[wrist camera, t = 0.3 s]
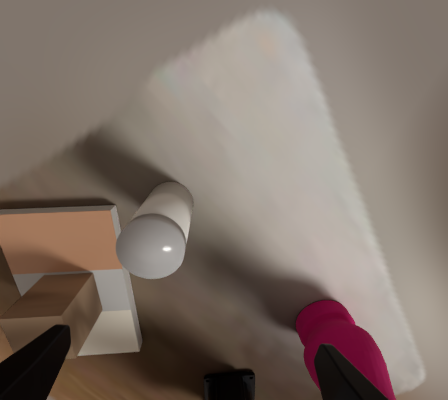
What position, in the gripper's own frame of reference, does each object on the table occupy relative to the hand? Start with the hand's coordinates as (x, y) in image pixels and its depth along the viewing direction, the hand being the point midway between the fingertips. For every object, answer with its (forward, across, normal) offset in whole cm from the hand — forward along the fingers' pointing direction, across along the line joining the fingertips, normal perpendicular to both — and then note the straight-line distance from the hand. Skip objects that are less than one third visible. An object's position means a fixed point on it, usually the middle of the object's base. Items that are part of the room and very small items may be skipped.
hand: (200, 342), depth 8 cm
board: (+14, +12, +10) cm, 21 cm away
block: (+13, +12, +10) cm, 20 cm away
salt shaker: (+14, +3, 0) cm, 14 cm away
